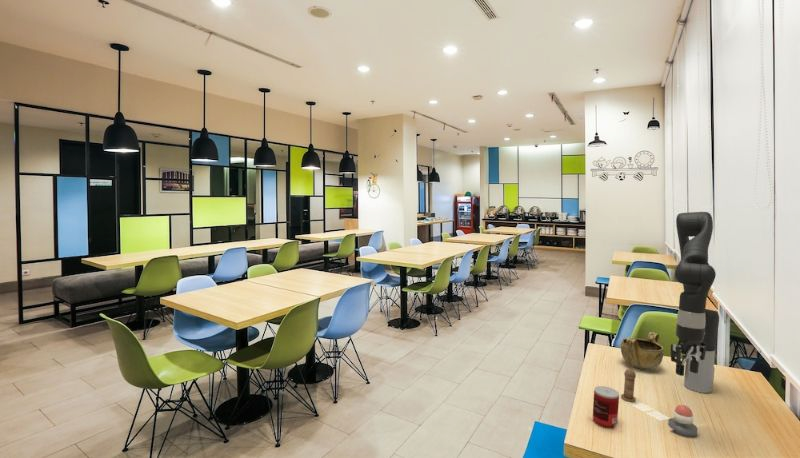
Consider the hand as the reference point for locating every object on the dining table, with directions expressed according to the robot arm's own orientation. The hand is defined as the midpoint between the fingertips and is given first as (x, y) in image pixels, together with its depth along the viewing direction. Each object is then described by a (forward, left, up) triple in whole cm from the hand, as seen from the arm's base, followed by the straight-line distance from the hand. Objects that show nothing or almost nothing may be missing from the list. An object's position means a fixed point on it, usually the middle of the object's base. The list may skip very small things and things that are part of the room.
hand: (686, 373), depth 133 cm
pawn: (+1, -20, -19) cm, 27 cm away
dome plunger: (0, 0, -16) cm, 16 cm away
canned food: (+21, -12, -20) cm, 31 cm away
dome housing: (0, 0, -20) cm, 20 cm away
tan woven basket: (-33, -43, -20) cm, 58 cm away
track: (+1, -14, -20) cm, 24 cm away
